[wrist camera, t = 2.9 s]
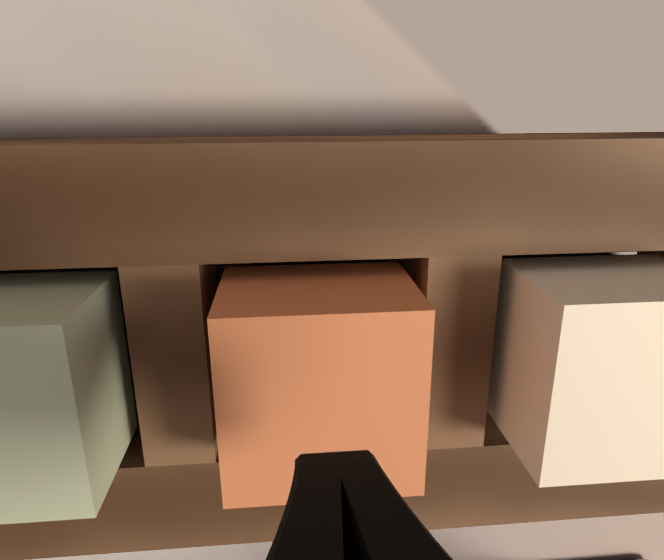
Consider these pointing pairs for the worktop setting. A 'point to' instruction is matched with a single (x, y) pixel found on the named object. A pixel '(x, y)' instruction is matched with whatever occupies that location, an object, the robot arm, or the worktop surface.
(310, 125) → the worktop surface
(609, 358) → the ivory cube
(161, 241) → the slotted board
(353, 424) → the salmon pink cube
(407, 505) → the robot arm
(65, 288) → the block
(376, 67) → the worktop surface
